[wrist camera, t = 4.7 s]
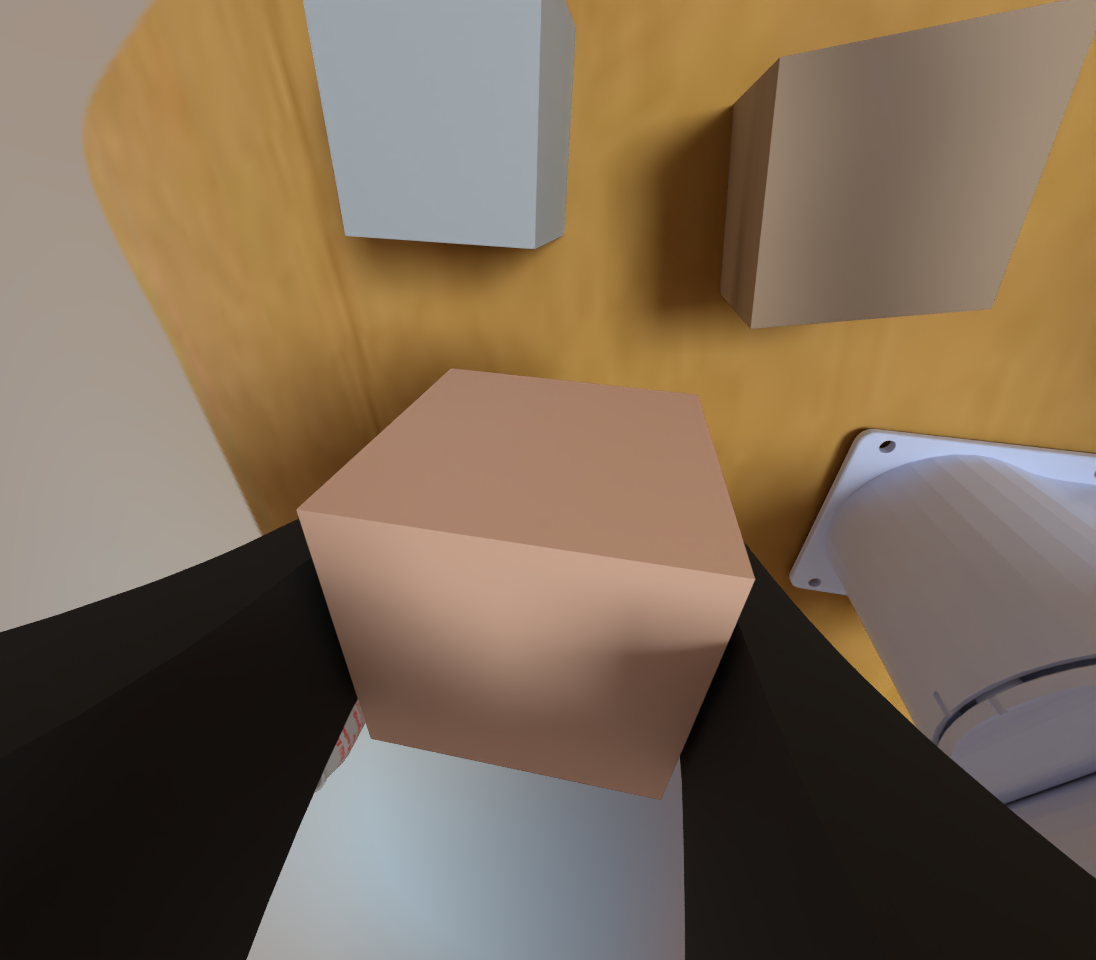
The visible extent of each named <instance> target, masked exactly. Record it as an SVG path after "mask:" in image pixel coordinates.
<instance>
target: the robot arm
mask: <svg viewBox="0 0 1096 960" xmlns="http://www.w3.org/2000/svg"><path fill="white" fill-rule="evenodd" d="M885 441H890V444H889V445H888V446H886V447H884V448H879V446H880V445H881V444H882V443H883V442H885ZM1095 471H1096V454H1092V453H1083V452H1074V451H1065V450H1057V449H1048V448H1039V447H1030V446H1021V445H1012V444H1004V443H995V442H986V441H977V440H968V439H960V438H951V437H942V436H933V435H924V434H915V433H907V432H898V431H889V430H880V429H868V430H865V431H862V432H861V433H860V434H858V435H857V436H856V438H855V439H854V441H853V443H852V445H851V447H850V449H849V452H848V454H847V456H846V458H845V460H844V462H843V464H842V466H841V468H840V470H839V472H838V474H837V476H836V478H835V481H834V483H833V485H832V487H831V489H830V491H829V493H828V495H827V497H826V499H825V501H824V503H823V505H822V507H821V509H820V512H819V514H818V516H817V518H816V520H815V522H814V524H813V526H812V528H811V530H810V532H809V534H808V536H807V538H806V541H805V543H804V545H803V547H802V549H801V551H800V553H799V555H798V557H797V559H796V561H795V563H794V565H793V567H792V570H791V572H790V574H789V578H790V581H791V583H792V585H793V586H795V587H798V588H803V589H809V590H816V591H822V592H828V593H835V594H841V595H848V597H849V599H850V601H851V603H852V605H853V607H854V609H855V610H856V612H857V614H858V616H859V618H860V620H861V622H862V624H863V626H864V628H865V630H866V632H867V633H868V635H869V637H870V639H871V641H872V643H873V645H874V647H875V649H876V651H877V653H878V655H879V656H880V658H881V660H882V662H883V664H884V666H885V668H886V670H887V672H888V674H889V676H890V677H891V679H892V681H893V683H894V685H895V687H896V689H897V691H898V693H899V695H900V697H901V699H902V700H903V702H904V704H905V706H906V708H907V710H908V712H909V714H910V716H911V718H912V720H913V722H914V723H915V725H916V727H917V728H916V727H915V726H914V725H913V724H912V723H911V722H910V721H909V720H908V719H907V718H905V717H904V716H903V715H902V714H901V713H900V712H899V711H898V710H897V709H896V708H895V707H894V706H893V705H892V704H891V703H890V702H889V701H888V700H887V699H886V698H885V697H883V696H882V695H881V694H880V693H879V692H878V691H877V690H876V689H875V688H874V687H873V686H872V685H871V684H870V683H869V682H868V681H867V680H866V679H865V678H864V677H863V676H862V675H861V674H860V673H859V672H858V671H857V670H856V669H855V668H854V667H853V666H852V665H851V664H850V663H849V662H848V661H847V660H846V659H845V658H844V657H843V656H842V655H841V654H840V653H839V652H838V651H837V650H836V649H835V648H834V647H833V646H832V644H831V643H830V642H829V641H828V640H827V639H826V638H825V637H824V636H823V635H822V634H821V633H820V631H819V630H818V629H817V628H816V627H815V626H814V625H813V624H812V623H811V622H810V621H809V620H808V618H807V617H806V616H805V615H804V614H803V613H802V612H801V611H800V609H799V608H798V607H797V606H796V605H795V604H794V603H793V601H792V600H791V599H790V598H789V597H788V596H787V594H786V593H785V592H784V591H783V590H782V588H781V587H780V586H779V585H778V584H777V582H776V581H775V580H774V579H773V578H772V576H771V575H770V574H769V573H768V571H767V570H766V569H765V568H764V566H763V565H762V564H761V563H760V561H759V560H758V559H757V558H756V556H755V555H754V554H753V553H752V551H751V550H750V549H749V547H748V546H747V545H746V544H745V542H744V541H743V542H744V545H745V548H746V551H747V555H748V558H749V561H750V564H751V568H752V571H753V574H754V577H755V581H754V583H753V585H752V588H751V590H750V592H749V595H748V597H747V600H746V602H745V604H744V607H743V609H742V611H741V614H740V616H739V618H738V621H737V623H736V625H735V628H734V630H733V632H732V635H731V637H730V639H729V642H728V644H727V646H726V649H725V651H724V653H723V656H722V658H721V660H720V663H719V665H718V668H717V670H716V672H715V675H714V677H713V679H712V682H711V684H710V686H709V689H708V691H707V693H706V696H705V698H704V700H703V703H702V705H701V707H700V710H699V712H698V714H697V717H696V719H695V721H694V724H693V726H692V728H691V731H690V733H689V735H688V738H687V740H686V743H685V745H684V747H683V750H682V752H681V754H680V764H681V777H682V800H683V833H684V834H683V835H684V836H683V837H684V887H685V888H684V889H685V890H684V891H685V960H1096V472H1095ZM816 578H817V579H816ZM811 579H816V580H813V581H810V580H811ZM357 700H358V697H357V694H356V691H355V688H354V685H353V682H352V679H351V676H350V673H349V670H348V667H347V664H346V661H345V657H344V654H343V651H342V648H341V645H340V642H339V639H338V636H337V633H336V630H335V627H334V624H333V621H332V618H331V615H330V612H329V608H328V605H327V602H326V599H325V596H324V593H323V590H322V587H321V584H320V581H319V578H318V575H317V572H316V569H315V566H314V562H313V559H312V556H311V553H310V550H309V547H308V544H307V541H306V538H305V535H304V532H303V529H302V526H301V523H300V520H299V519H297V520H295V521H293V522H291V523H289V524H287V525H285V526H282V527H280V528H278V529H276V530H274V531H272V532H270V533H268V534H266V535H264V536H262V537H259V538H257V539H255V540H253V541H251V542H249V543H247V544H245V545H243V546H241V547H238V548H236V549H234V550H231V551H229V552H227V553H224V554H222V555H220V556H218V557H215V558H213V559H210V560H208V561H206V562H203V563H200V564H198V565H196V566H193V567H191V568H188V569H185V570H183V571H180V572H178V573H176V574H173V575H170V576H168V577H165V578H163V579H160V580H157V581H155V582H152V583H149V584H147V585H144V586H141V587H138V588H135V589H132V590H129V591H126V592H123V593H120V594H117V595H115V596H111V597H109V598H106V599H103V600H100V601H97V602H94V603H91V604H88V605H85V606H83V607H79V608H76V609H73V610H71V611H68V612H65V613H62V614H59V615H56V616H52V617H49V618H46V619H43V620H40V621H36V622H33V623H30V624H26V625H24V626H20V627H17V628H13V629H10V630H7V631H3V632H0V960H246V959H247V957H248V954H249V951H250V949H251V946H252V943H253V941H254V938H255V936H256V933H257V930H258V927H259V925H260V923H261V920H262V917H263V915H264V912H265V909H266V907H267V904H268V902H269V899H270V897H271V894H272V892H273V890H274V887H275V885H276V882H277V880H278V877H279V875H280V872H281V870H282V868H283V865H284V863H285V860H286V858H287V855H288V853H289V850H290V848H291V846H292V843H293V841H294V838H295V836H296V833H297V831H298V829H299V826H300V824H301V822H302V819H303V817H304V815H305V813H306V810H307V808H308V806H309V803H310V801H311V799H312V797H313V794H314V792H315V790H316V787H317V785H318V783H319V781H320V778H321V776H322V774H323V771H324V769H325V767H326V765H327V763H328V760H329V758H330V756H331V754H332V752H333V750H334V747H335V745H336V743H337V741H338V739H339V737H340V735H341V732H342V730H343V728H344V726H345V724H346V722H347V719H348V717H349V715H350V713H351V711H352V709H353V707H354V705H355V704H356V702H357Z"/></svg>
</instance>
